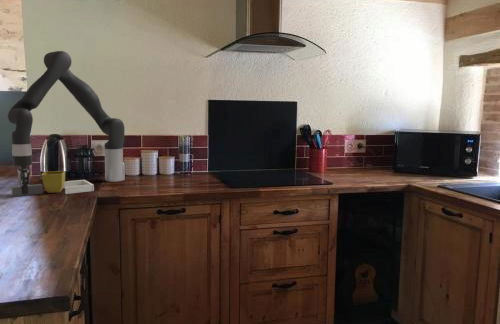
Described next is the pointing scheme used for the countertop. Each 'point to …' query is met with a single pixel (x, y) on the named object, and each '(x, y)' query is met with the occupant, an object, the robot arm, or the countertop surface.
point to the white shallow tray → (78, 186)
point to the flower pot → (53, 181)
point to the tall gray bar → (31, 190)
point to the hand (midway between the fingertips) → (24, 192)
